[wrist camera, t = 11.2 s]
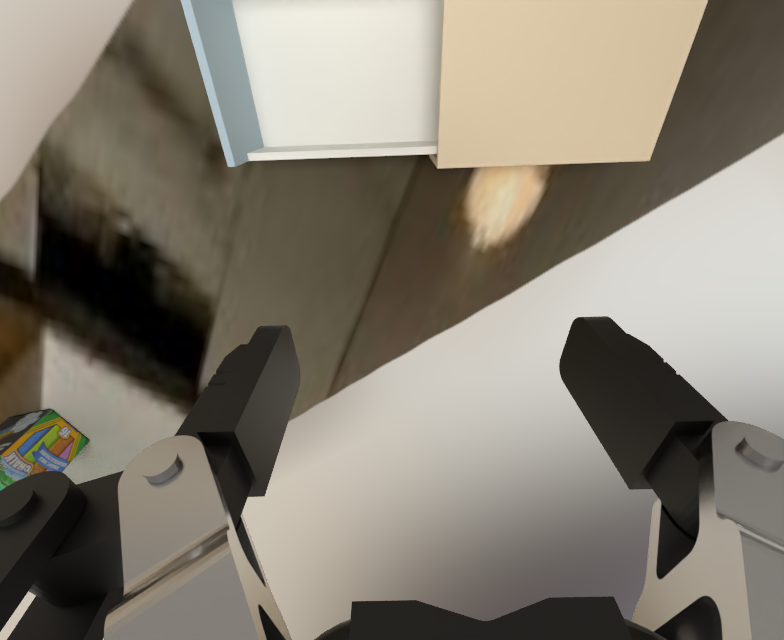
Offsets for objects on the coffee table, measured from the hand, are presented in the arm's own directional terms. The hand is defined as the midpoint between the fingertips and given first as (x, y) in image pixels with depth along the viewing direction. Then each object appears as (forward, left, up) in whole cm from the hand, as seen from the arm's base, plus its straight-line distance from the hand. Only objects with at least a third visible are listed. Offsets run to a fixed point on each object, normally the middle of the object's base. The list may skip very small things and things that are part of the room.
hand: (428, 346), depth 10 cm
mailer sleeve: (-12, -8, -30) cm, 33 cm away
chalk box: (+62, +40, -30) cm, 80 cm away
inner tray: (+1, -8, -29) cm, 30 cm away
